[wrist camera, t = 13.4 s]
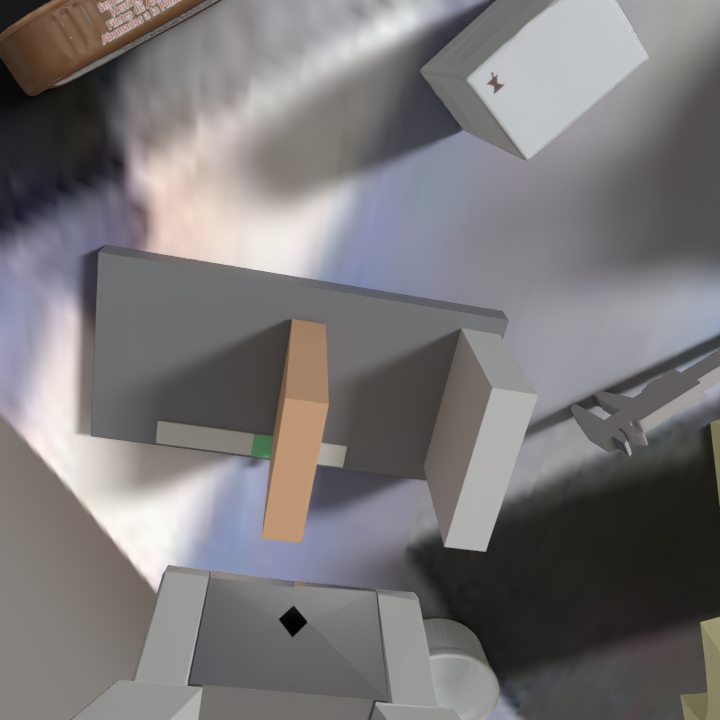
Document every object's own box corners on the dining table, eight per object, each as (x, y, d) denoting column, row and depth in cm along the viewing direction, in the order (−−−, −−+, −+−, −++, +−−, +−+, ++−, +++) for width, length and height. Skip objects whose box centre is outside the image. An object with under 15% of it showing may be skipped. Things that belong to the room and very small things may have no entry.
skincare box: (464, 133, 38) (523, 167, 27) (416, 70, 37) (459, 79, 26) (554, 55, 37) (654, 58, 26) (508, -14, 35) (594, -41, 24)
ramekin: (476, 599, 52) (489, 644, 49) (495, 678, 56) (508, 725, 52) (364, 625, 53) (368, 671, 49) (390, 702, 57) (395, 750, 53)
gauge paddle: (268, 464, 44) (255, 572, 35) (292, 318, 40) (285, 398, 31) (299, 468, 44) (294, 576, 35) (325, 324, 40) (328, 404, 31)
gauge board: (97, 424, 44) (44, 515, 36) (105, 245, 39) (46, 300, 31) (455, 471, 47) (486, 566, 39) (502, 311, 43) (549, 378, 34)
